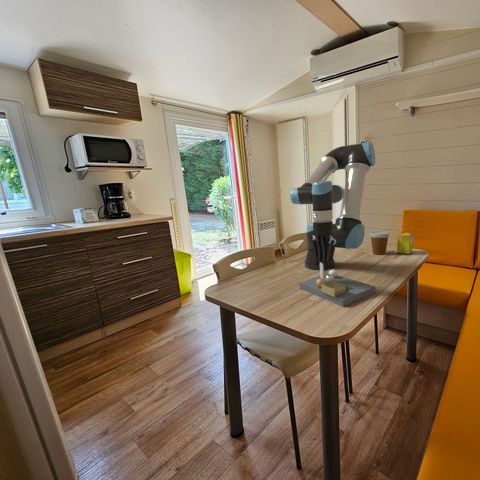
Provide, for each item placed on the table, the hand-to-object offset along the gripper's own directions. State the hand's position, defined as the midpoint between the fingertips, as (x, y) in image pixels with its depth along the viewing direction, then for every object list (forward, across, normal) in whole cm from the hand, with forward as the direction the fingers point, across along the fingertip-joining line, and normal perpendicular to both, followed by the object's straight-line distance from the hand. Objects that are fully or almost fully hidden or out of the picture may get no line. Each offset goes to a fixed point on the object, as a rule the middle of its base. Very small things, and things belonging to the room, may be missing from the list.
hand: (323, 277), depth 109 cm
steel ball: (0, +3, 0) cm, 3 cm away
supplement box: (+4, -6, +67) cm, 67 cm away
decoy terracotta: (0, +4, -6) cm, 7 cm away
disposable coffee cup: (+4, -15, +57) cm, 59 cm away
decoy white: (0, -1, +6) cm, 6 cm away
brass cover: (+2, +11, -6) cm, 12 cm away
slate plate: (+4, +6, +1) cm, 7 cm away
